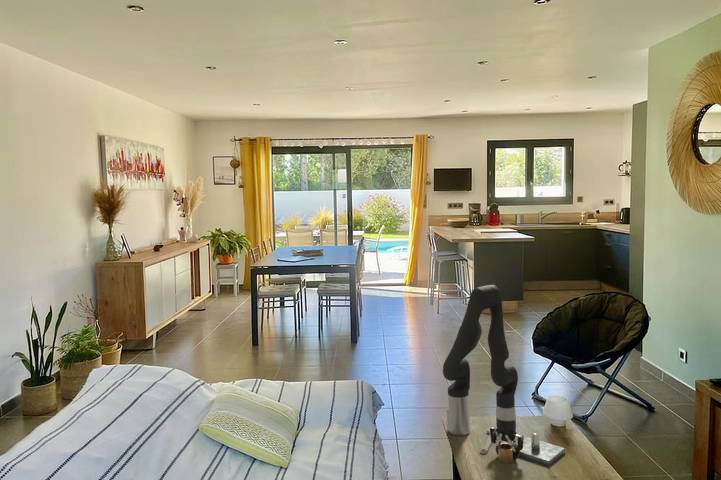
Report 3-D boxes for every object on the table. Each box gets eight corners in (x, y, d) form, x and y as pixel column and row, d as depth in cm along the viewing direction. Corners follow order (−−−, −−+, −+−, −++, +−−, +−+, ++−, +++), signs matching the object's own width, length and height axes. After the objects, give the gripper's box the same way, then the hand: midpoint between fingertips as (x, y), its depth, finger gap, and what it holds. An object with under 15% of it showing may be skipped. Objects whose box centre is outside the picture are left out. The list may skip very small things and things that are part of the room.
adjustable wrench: (486, 456, 215) (486, 451, 215) (471, 452, 219) (471, 448, 219) (504, 431, 237) (504, 427, 236) (490, 429, 240) (490, 425, 240)
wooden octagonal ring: (495, 459, 211) (495, 447, 211) (504, 453, 216) (503, 441, 215) (510, 464, 207) (509, 451, 206) (518, 458, 211) (518, 446, 211)
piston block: (506, 452, 217) (506, 433, 216) (523, 440, 227) (523, 422, 226) (548, 466, 204) (548, 445, 203) (564, 452, 214) (564, 433, 213)
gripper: (484, 414, 212) (486, 455, 214) (517, 424, 202) (518, 466, 203) (494, 409, 218) (496, 448, 219) (527, 417, 207) (528, 459, 209)
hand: (507, 456), depth 211 cm, fingers closed on wooden octagonal ring, 6 cm apart
